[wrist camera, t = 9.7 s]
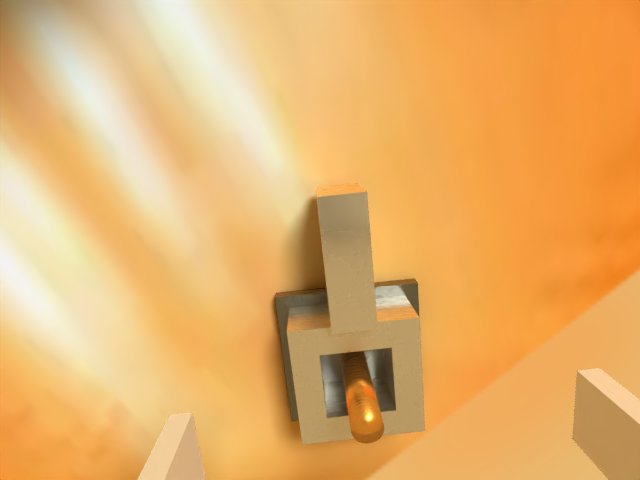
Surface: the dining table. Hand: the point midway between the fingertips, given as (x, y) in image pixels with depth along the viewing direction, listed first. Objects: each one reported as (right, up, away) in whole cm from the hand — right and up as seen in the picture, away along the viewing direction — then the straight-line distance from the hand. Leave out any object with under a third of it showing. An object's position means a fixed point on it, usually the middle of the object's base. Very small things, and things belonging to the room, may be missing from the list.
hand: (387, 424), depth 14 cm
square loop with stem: (0, +2, +17) cm, 17 cm away
